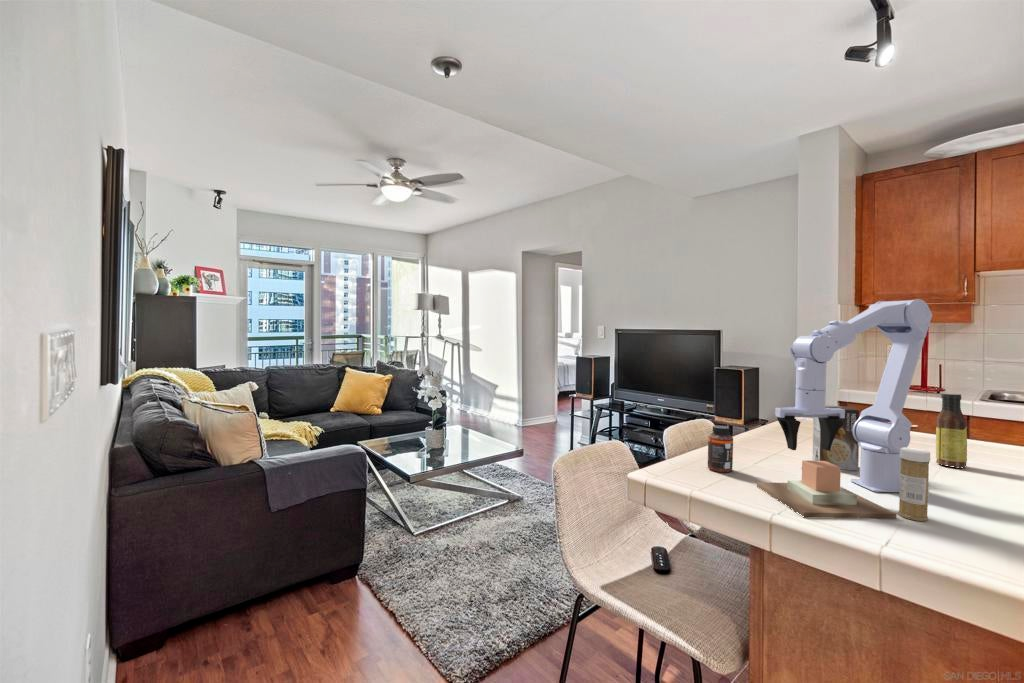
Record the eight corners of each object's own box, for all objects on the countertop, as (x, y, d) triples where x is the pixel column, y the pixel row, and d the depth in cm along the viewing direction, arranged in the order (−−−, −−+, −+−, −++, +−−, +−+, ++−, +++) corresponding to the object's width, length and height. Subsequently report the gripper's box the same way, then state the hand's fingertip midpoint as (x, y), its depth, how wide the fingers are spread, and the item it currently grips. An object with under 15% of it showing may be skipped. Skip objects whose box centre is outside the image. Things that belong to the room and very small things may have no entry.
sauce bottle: (973, 469, 127) (976, 395, 127) (949, 469, 127) (952, 395, 127) (950, 462, 134) (953, 392, 133) (928, 462, 134) (931, 391, 133)
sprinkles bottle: (931, 518, 93) (933, 450, 93) (923, 523, 91) (926, 453, 90) (902, 511, 97) (904, 445, 97) (893, 515, 94) (896, 448, 94)
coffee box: (849, 464, 131) (851, 406, 130) (858, 471, 124) (861, 410, 124) (811, 461, 133) (813, 404, 133) (818, 467, 127) (820, 407, 127)
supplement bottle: (735, 474, 121) (736, 429, 120) (710, 472, 122) (711, 428, 121) (729, 467, 126) (730, 424, 126) (705, 465, 128) (706, 423, 127)
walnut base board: (834, 487, 111) (834, 475, 111) (896, 518, 93) (896, 503, 93) (756, 486, 111) (757, 473, 111) (803, 517, 93) (804, 502, 93)
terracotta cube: (824, 483, 105) (825, 460, 104) (839, 491, 100) (840, 467, 99) (801, 483, 105) (802, 460, 104) (815, 490, 100) (816, 467, 99)
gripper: (830, 387, 111) (828, 445, 112) (768, 386, 111) (767, 444, 111) (852, 391, 104) (850, 453, 105) (786, 390, 104) (784, 452, 104)
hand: (808, 449), depth 108 cm, fingers open, 7 cm apart
